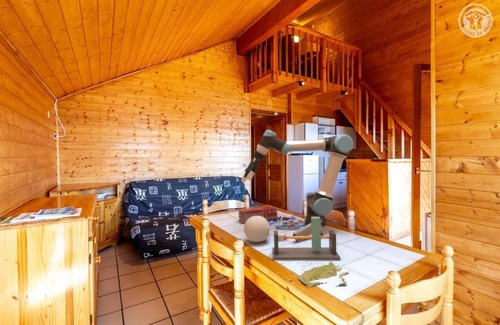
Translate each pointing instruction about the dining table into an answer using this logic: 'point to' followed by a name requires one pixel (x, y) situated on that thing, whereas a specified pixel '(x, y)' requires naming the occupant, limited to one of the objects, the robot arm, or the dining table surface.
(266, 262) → the dining table surface
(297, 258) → the grey slider rail stand
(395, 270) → the dining table surface
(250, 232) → the toy
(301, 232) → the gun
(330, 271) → the landscape model
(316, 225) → the sleeve
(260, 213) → the toy
